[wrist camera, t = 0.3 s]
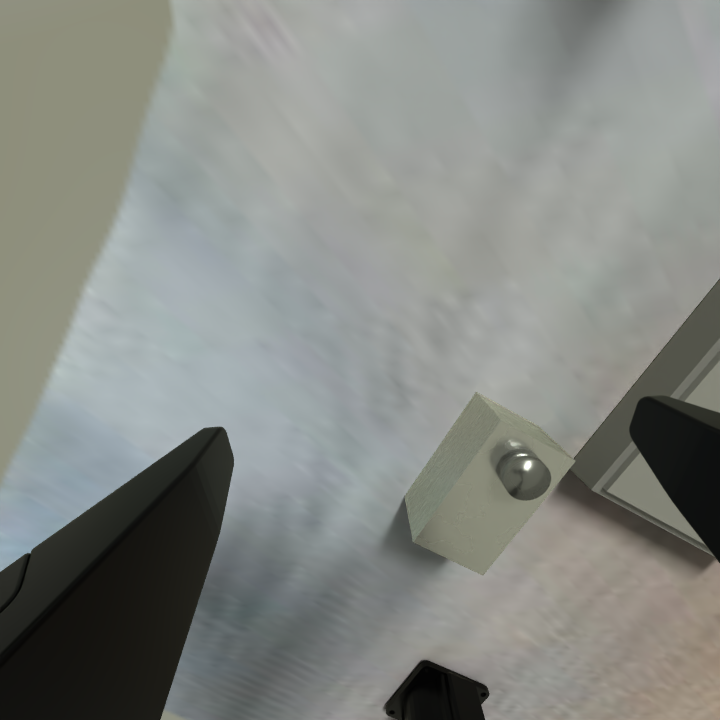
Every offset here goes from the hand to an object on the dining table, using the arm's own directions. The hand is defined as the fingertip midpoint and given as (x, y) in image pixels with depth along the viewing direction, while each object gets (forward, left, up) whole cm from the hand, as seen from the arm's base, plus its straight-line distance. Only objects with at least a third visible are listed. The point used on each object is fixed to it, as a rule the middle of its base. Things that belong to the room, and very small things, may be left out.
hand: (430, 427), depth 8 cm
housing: (-6, -10, -15) cm, 19 cm away
